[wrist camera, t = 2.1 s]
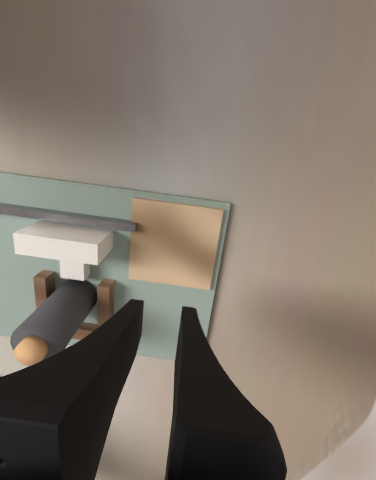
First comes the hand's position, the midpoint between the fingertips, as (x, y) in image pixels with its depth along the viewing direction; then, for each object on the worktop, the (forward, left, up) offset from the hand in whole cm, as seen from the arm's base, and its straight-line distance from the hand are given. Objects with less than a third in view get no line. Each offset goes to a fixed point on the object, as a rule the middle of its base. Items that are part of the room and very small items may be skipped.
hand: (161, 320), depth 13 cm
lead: (-6, +9, -10) cm, 14 cm away
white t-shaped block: (-1, +9, -9) cm, 13 cm away
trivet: (0, +1, -10) cm, 10 cm away
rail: (+1, +12, -10) cm, 15 cm away
